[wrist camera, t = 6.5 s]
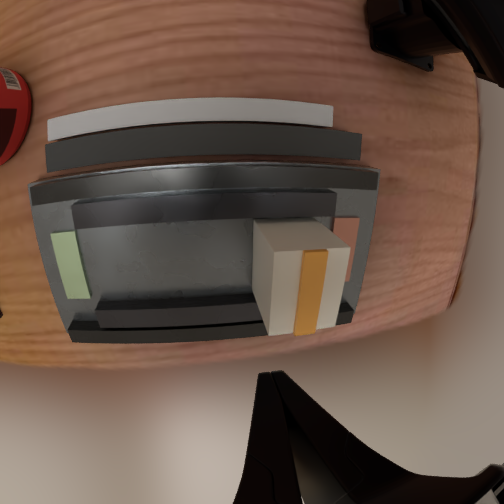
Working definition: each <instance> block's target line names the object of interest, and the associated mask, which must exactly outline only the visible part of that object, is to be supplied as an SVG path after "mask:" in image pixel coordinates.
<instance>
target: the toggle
mask: <svg viewBox="0 0 504 504" xmlns="http://www.w3.org/2000/svg"><path fill="white" fill-rule="evenodd" d="M350 249H351V247H350V246H348V245H347V244H346V243H345V242H344V241H342V240H341V239H340V238H339V237H338V236H336V235H335V234H334V233H333V232H331V231H330V230H329V229H328V228H326V227H325V226H324V225H323V224H321V223H320V222H319V221H318V220H316V219H315V218H272V219H254V223H253V265H252V291H253V294H254V296H255V299H256V302H257V305H258V308H259V310H260V313H261V316H262V319H263V322H264V324H265V327H266V330H267V333H268V336H273V335H281V334H288V333H293V334H294V336H300V335H307V334H313V333H315V330H316V329H322V328H328V327H334V326H335V324H336V320H337V315H338V311H339V306H340V302H341V297H342V292H343V287H344V282H345V277H346V272H347V266H348V260H349V255H350Z"/></svg>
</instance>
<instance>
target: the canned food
mask: <svg viewBox="0 0 504 504" xmlns="http://www.w3.org/2000/svg"><path fill="white" fill-rule="evenodd" d="M30 117H31V95H30V91H29V88H28V85H27V84H26V82H25V80H24V79H23V78H22V77H21V76H20V75H19V74H18V73H16V72H15V71H13V70H10V69H6V68H2V67H0V165H2V164H3V163H5V162H6V161H7V160H8V159H9V158H10V157H11V156H12V155H13V154H14V153H15V152H16V151H17V149H18V148H19V147H20V145H21V143H22V141H23V139H24V137H25V135H26V132H27V130H28V126H29V122H30Z"/></svg>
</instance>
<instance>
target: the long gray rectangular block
mask: <svg viewBox="0 0 504 504" xmlns="http://www.w3.org/2000/svg"><path fill="white" fill-rule="evenodd" d="M190 122H267V123H285V124H298V125H310V126H319V127H332V126H333V106H329V105H322V104H314V103H306V102H297V101H287V100H274V99H258V98H186V99H170V100H157V101H147V102H138V103H130V104H123V105H116V106H110V107H104V108H98V109H93V110H88V111H83V112H78V113H74V114H69V115H65V116H61V117H57V118H53V119H49V120H48V141H53V140H59V139H64V138H69V137H74V136H79V135H84V134H90V133H95V132H101V131H108V130H115V129H122V128H130V127H139V126H148V125H159V124H173V123H190ZM361 140H362V134H359V133H352V132H345V131H338V130H330V129H321V128H311V127H300V126H286V125H268V124H191V125H173V126H159V127H148V128H139V129H130V130H122V131H114V132H108V133H101V134H95V135H89V136H84V137H78V138H73V139H68V140H64V141H59V142H54V143H50V144H46V145H45V151H46V165H47V173H48V172H54V171H59V170H64V169H70V168H76V167H82V166H89V165H96V164H103V163H111V162H119V161H128V160H137V159H148V158H160V157H175V156H193V155H224V154H263V155H295V156H313V157H328V158H340V159H351V160H360V155H361Z"/></svg>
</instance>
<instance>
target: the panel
mask: <svg viewBox="0 0 504 504" xmlns="http://www.w3.org/2000/svg"><path fill="white" fill-rule="evenodd" d="M379 178H380V169H377V168H373V167H370V166H361V165H351V164H339V163H325V162H308V161H283V160H212V161H188V162H171V163H157V164H145V165H134V166H125V167H116V168H108V169H100V170H93V171H86V172H79V173H73V174H67V175H61V176H55V177H50V178H45V179H40V180H36V181H34V182H31V183H29V184H28V191H29V198H30V204H31V210H32V216H33V221H34V227H35V231H36V236H37V240H38V245H39V249H40V253H41V257H42V261H43V264H44V268H45V271H46V275H47V278H48V281H49V285H50V288H51V291H52V294H53V297H54V300H55V303H56V306H57V308H58V311H59V314H60V316H61V319H62V322H63V324H64V327H65V329H66V332H67V333H69V335H70V338H71V340H72V342H79V343H173V342H193V341H209V340H223V339H234V338H245V337H255V336H264V335H268V333H267V330H266V327H265V324H264V322H263V319H262V316H261V313H260V310H259V308H258V305H257V302H256V299H255V296H254V294H253V291H252V265H253V223H254V219H272V218H315V219H316V220H318V221H319V222H320V223H321V224H323V225H324V226H325V227H326V228H328V229H329V230H330V231H331V232H333V233H334V234H335V235H336V236H338V237H339V238H340V239H341V240H342V241H344V242H345V243H346V244H347V245H348V246H350V247H351V249H350V255H349V260H348V266H347V272H346V277H345V282H344V287H343V292H342V297H341V302H340V306H339V311H338V315H337V320H336V324H335V325H340V324H346V323H351V321H352V317H353V314H354V313H355V310H356V306H357V302H358V298H359V294H360V289H361V285H362V281H363V276H364V272H365V267H366V262H367V257H368V252H369V246H370V241H371V235H372V229H373V223H374V217H375V210H376V203H377V195H378V187H379Z"/></svg>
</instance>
